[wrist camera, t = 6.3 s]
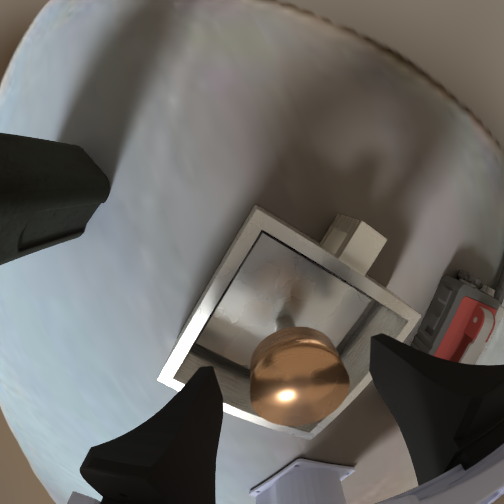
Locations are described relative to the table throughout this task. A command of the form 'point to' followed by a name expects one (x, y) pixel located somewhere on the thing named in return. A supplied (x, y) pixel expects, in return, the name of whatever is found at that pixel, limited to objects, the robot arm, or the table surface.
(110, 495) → the robot arm
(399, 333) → the square tray with tab
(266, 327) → the square lid with knob
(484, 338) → the walkie-talkie
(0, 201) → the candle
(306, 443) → the table surface
